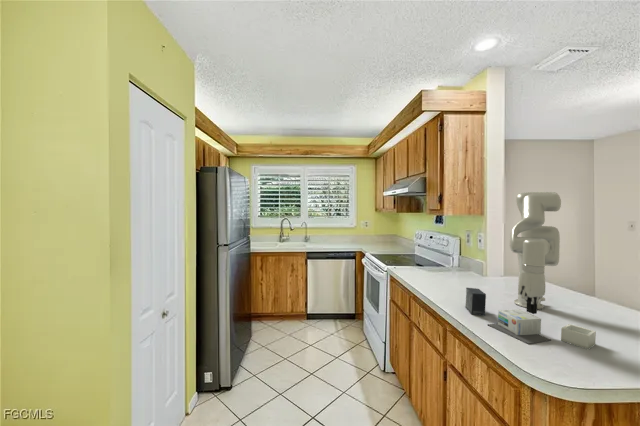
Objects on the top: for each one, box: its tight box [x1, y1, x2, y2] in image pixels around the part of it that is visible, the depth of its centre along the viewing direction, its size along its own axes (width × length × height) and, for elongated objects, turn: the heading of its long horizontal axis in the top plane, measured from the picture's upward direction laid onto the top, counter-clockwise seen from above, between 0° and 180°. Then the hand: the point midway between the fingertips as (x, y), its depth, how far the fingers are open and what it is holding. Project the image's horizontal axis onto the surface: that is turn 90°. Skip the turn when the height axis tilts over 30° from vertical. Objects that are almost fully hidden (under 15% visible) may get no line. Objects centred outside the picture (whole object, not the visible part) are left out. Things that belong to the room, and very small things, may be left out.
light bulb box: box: [497, 308, 542, 335], centre depth 121 cm, size 11×7×11 cm
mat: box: [487, 322, 552, 345], centre depth 119 cm, size 12×18×1 cm, turn 18°
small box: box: [464, 287, 487, 316], centre depth 142 cm, size 11×6×10 cm, turn 168°
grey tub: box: [560, 323, 597, 350], centre depth 111 cm, size 8×8×5 cm
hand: (531, 312), depth 121 cm, fingers closed
